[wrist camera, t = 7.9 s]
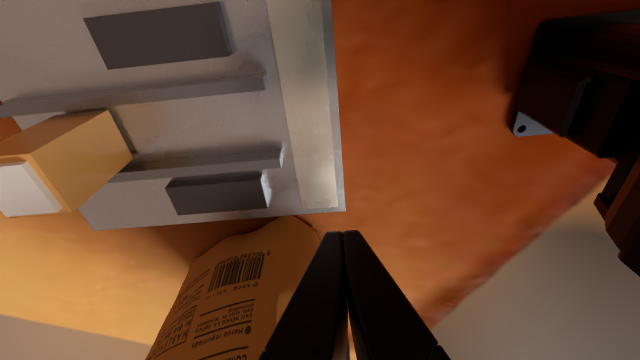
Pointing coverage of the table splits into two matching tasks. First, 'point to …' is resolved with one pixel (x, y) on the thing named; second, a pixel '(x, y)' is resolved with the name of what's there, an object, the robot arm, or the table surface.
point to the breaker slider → (59, 163)
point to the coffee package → (237, 294)
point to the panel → (187, 101)
